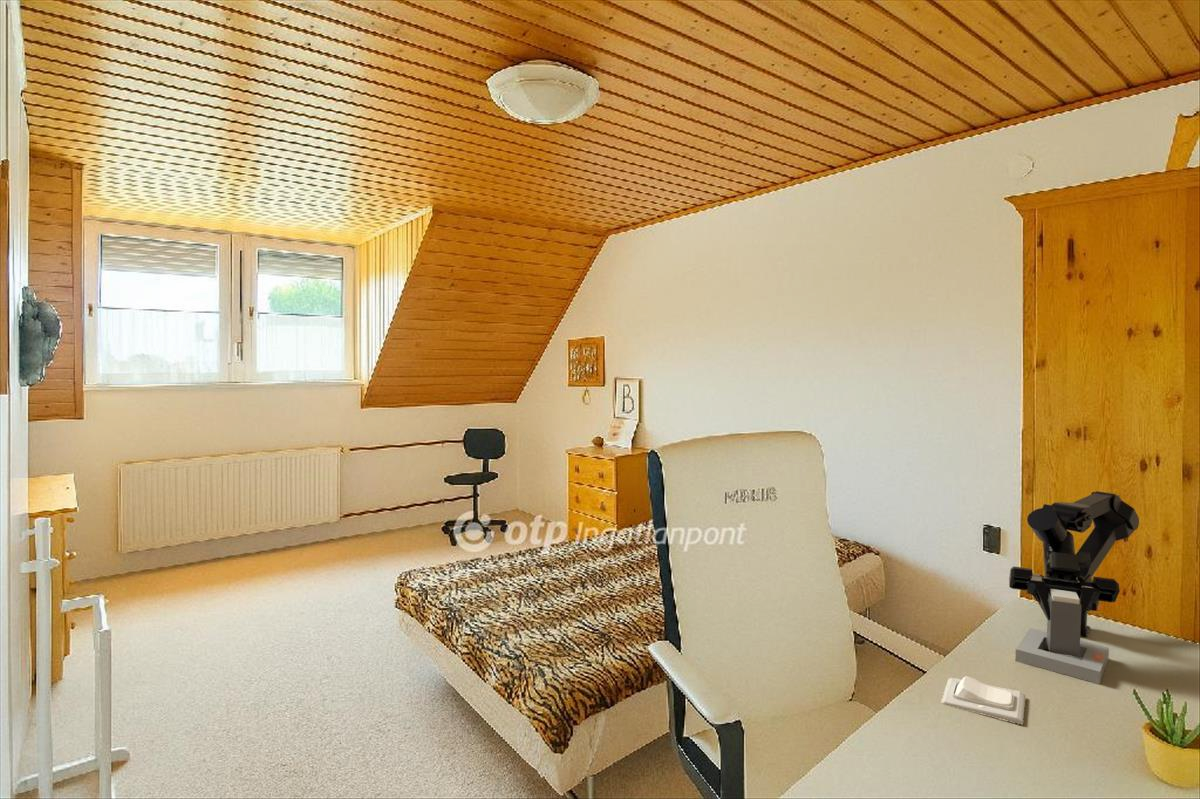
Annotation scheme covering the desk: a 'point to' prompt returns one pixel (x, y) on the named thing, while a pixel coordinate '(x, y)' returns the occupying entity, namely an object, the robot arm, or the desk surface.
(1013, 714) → the light switch
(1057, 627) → the plug
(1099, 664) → the socket plate
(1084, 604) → the robot arm
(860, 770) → the desk surface
